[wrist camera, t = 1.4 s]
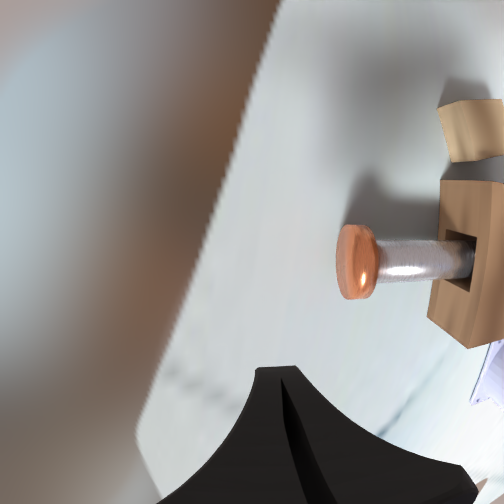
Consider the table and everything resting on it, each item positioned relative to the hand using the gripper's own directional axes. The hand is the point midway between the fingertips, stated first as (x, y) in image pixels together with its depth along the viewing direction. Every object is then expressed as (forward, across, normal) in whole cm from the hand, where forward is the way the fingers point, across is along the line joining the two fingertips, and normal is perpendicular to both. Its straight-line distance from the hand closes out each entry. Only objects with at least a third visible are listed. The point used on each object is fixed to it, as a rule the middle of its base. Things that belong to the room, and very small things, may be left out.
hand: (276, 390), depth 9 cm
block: (+10, -16, -12) cm, 22 cm away
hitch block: (+10, -16, -2) cm, 18 cm away
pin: (+9, -11, -3) cm, 14 cm away
